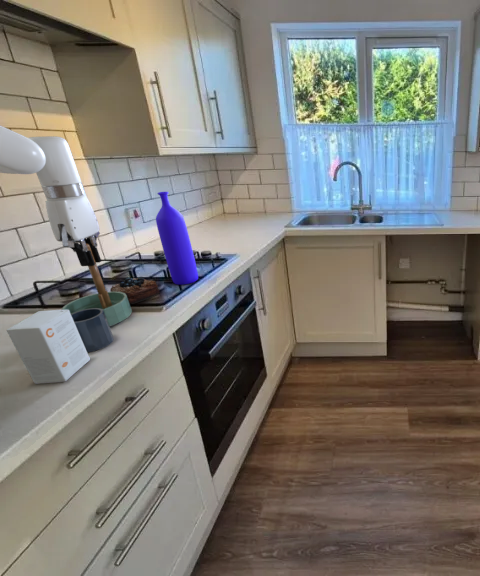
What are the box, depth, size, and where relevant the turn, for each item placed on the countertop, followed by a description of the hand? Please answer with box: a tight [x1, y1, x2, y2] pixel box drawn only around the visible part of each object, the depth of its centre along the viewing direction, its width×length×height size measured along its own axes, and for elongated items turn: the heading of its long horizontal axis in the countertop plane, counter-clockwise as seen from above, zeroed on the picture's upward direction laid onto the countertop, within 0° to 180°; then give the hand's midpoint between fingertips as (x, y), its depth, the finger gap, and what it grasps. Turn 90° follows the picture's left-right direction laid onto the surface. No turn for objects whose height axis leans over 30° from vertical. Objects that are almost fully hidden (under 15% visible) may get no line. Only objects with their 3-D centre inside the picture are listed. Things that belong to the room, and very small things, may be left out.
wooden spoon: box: [86, 243, 112, 309], centre depth 96 cm, size 2×3×19 cm, turn 5°
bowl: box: [60, 291, 133, 327], centre depth 98 cm, size 14×14×6 cm
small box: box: [6, 309, 91, 385], centre depth 75 cm, size 8×6×13 cm
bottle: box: [155, 191, 199, 286], centre depth 119 cm, size 8×8×30 cm
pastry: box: [109, 276, 160, 305], centre depth 113 cm, size 11×12×6 cm
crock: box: [71, 308, 115, 353], centre depth 86 cm, size 7×7×8 cm
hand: (91, 263), depth 94 cm, fingers closed on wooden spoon, 1 cm apart
